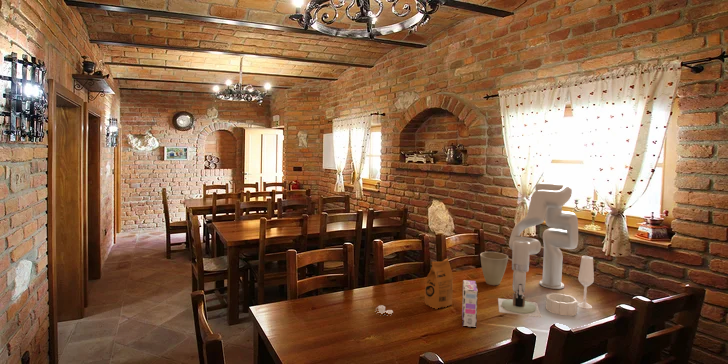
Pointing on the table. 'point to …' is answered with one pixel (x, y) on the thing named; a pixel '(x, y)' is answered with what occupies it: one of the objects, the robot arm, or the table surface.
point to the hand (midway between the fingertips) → (518, 303)
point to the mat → (535, 313)
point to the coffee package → (439, 285)
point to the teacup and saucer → (383, 310)
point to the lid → (511, 306)
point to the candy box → (469, 303)
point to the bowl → (561, 304)
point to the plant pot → (493, 266)
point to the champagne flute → (586, 278)
